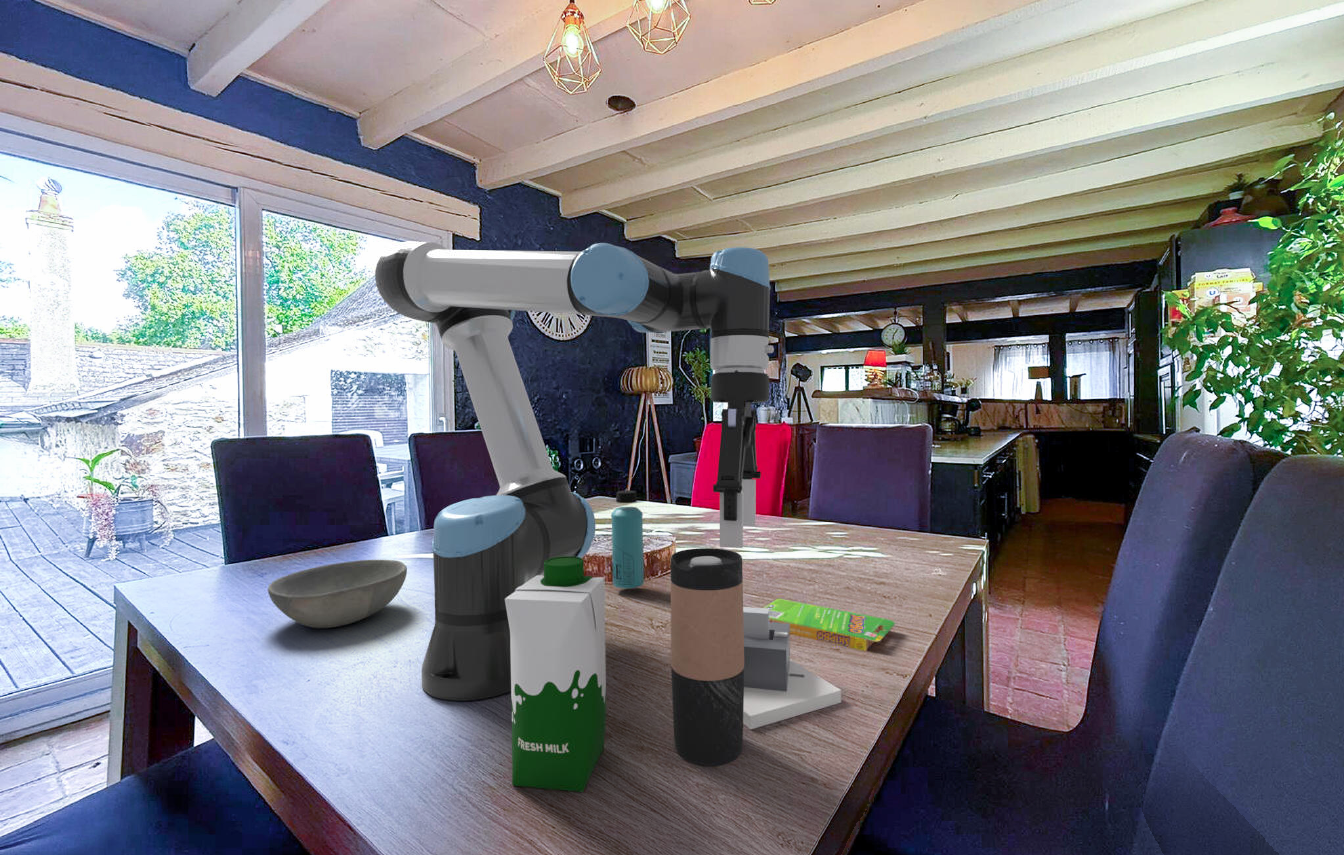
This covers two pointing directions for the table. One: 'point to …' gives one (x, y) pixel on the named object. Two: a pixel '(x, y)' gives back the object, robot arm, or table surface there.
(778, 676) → the gray slotted box
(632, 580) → the beverage bottle
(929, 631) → the table surface
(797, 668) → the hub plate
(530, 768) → the milk carton
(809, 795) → the table surface
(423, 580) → the table surface
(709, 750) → the travel mug
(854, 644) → the game box
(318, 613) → the bowl
